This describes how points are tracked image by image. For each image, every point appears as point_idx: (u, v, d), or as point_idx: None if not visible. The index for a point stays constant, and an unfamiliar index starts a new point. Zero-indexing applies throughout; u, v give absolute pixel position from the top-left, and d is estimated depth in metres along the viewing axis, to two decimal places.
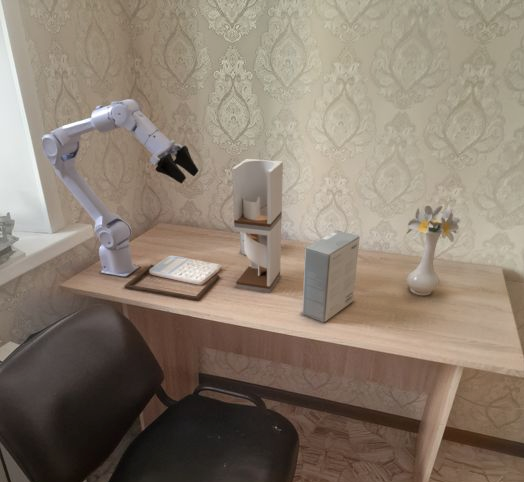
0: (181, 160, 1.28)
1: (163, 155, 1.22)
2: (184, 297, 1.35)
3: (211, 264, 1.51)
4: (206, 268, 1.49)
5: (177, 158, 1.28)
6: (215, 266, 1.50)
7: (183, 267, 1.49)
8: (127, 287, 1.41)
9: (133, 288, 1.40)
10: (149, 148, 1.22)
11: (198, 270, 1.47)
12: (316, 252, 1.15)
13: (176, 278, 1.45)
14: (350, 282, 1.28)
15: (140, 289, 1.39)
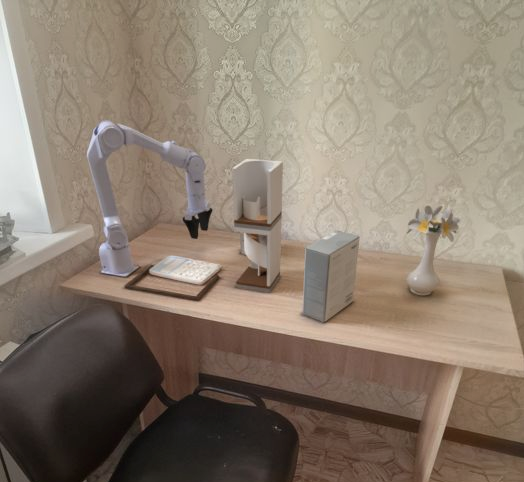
0: (202, 215, 1.55)
1: None
2: (184, 297, 1.35)
3: (211, 264, 1.51)
4: (206, 268, 1.49)
5: (200, 211, 1.54)
6: (215, 266, 1.50)
7: (183, 267, 1.49)
8: (127, 287, 1.41)
9: (133, 288, 1.40)
10: (189, 199, 1.46)
11: (198, 270, 1.47)
12: (316, 252, 1.15)
13: (176, 278, 1.45)
14: (350, 282, 1.28)
15: (140, 289, 1.39)
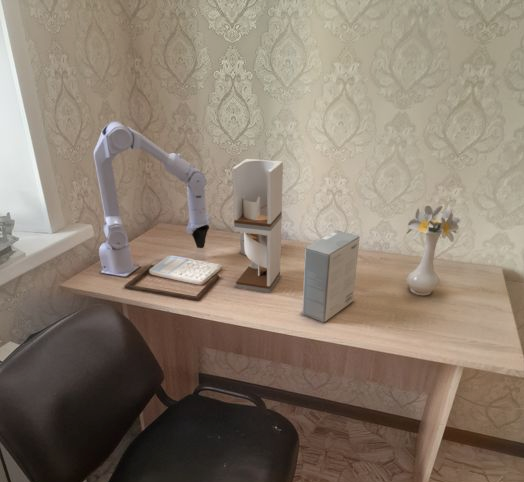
0: (198, 232, 1.55)
1: None
2: (184, 297, 1.35)
3: (211, 264, 1.51)
4: (206, 268, 1.49)
5: None
6: (215, 266, 1.50)
7: (183, 267, 1.49)
8: (127, 287, 1.41)
9: (133, 288, 1.40)
10: (190, 214, 1.49)
11: (198, 270, 1.47)
12: (316, 252, 1.15)
13: (176, 278, 1.45)
14: (350, 282, 1.28)
15: (140, 289, 1.39)
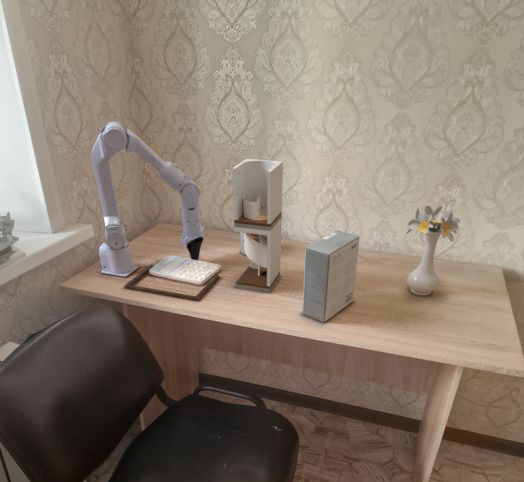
0: (192, 244, 1.53)
1: None
2: (184, 297, 1.35)
3: (211, 264, 1.51)
4: (206, 268, 1.49)
5: None
6: (215, 266, 1.50)
7: (183, 267, 1.49)
8: (127, 287, 1.41)
9: (133, 288, 1.40)
10: (184, 226, 1.47)
11: (198, 270, 1.47)
12: (316, 252, 1.15)
13: (176, 278, 1.45)
14: (350, 282, 1.28)
15: (140, 289, 1.39)
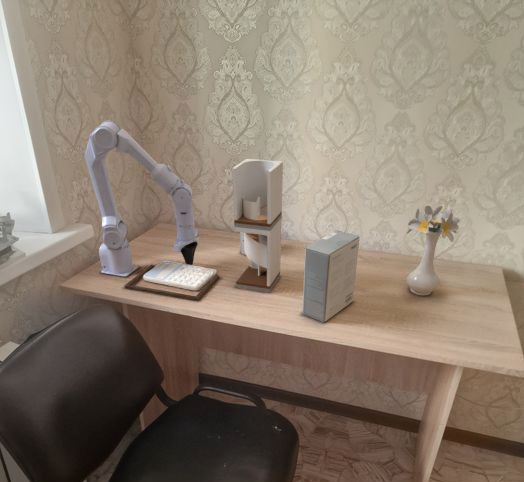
0: (186, 249, 1.49)
1: None
2: (184, 297, 1.35)
3: (206, 269, 1.48)
4: (201, 273, 1.46)
5: None
6: (210, 271, 1.47)
7: (178, 272, 1.46)
8: (127, 287, 1.41)
9: (133, 288, 1.40)
10: (178, 230, 1.43)
11: (193, 275, 1.44)
12: (316, 252, 1.15)
13: (171, 284, 1.42)
14: (350, 282, 1.28)
15: (140, 289, 1.39)
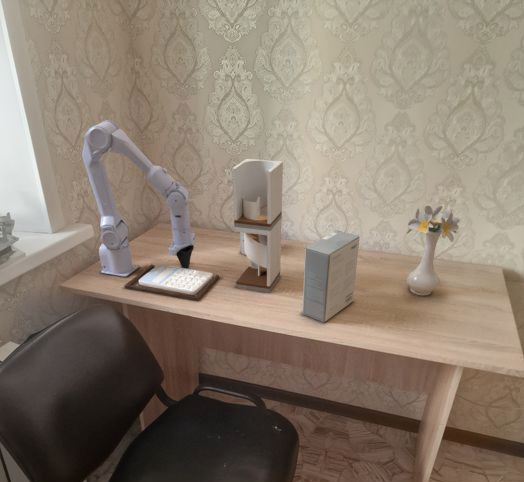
0: (182, 252, 1.47)
1: None
2: (184, 297, 1.35)
3: (203, 273, 1.46)
4: (198, 277, 1.43)
5: None
6: (207, 275, 1.45)
7: (174, 276, 1.44)
8: (127, 287, 1.41)
9: (133, 288, 1.40)
10: (174, 233, 1.41)
11: (190, 279, 1.42)
12: (316, 252, 1.15)
13: (167, 288, 1.39)
14: (350, 282, 1.28)
15: (140, 289, 1.39)
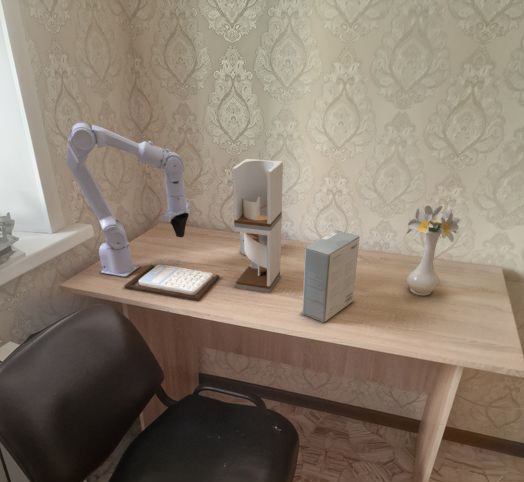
0: (177, 220, 1.48)
1: None
2: (184, 297, 1.35)
3: (203, 273, 1.46)
4: (198, 277, 1.43)
5: None
6: (207, 275, 1.45)
7: (174, 277, 1.44)
8: (127, 287, 1.41)
9: (133, 288, 1.40)
10: (168, 200, 1.42)
11: (190, 279, 1.42)
12: (316, 252, 1.15)
13: (167, 288, 1.39)
14: (350, 282, 1.28)
15: (140, 289, 1.39)
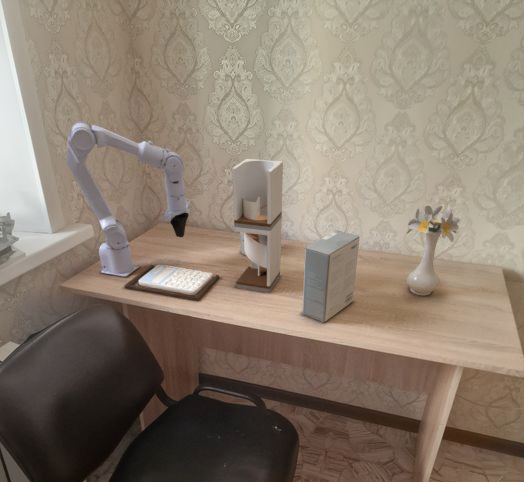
0: (177, 220, 1.48)
1: None
2: (184, 297, 1.35)
3: (203, 273, 1.46)
4: (198, 277, 1.43)
5: None
6: (207, 275, 1.45)
7: (174, 277, 1.44)
8: (127, 287, 1.41)
9: (133, 288, 1.40)
10: (168, 200, 1.42)
11: (190, 279, 1.42)
12: (316, 252, 1.15)
13: (167, 288, 1.39)
14: (350, 282, 1.28)
15: (140, 289, 1.39)
